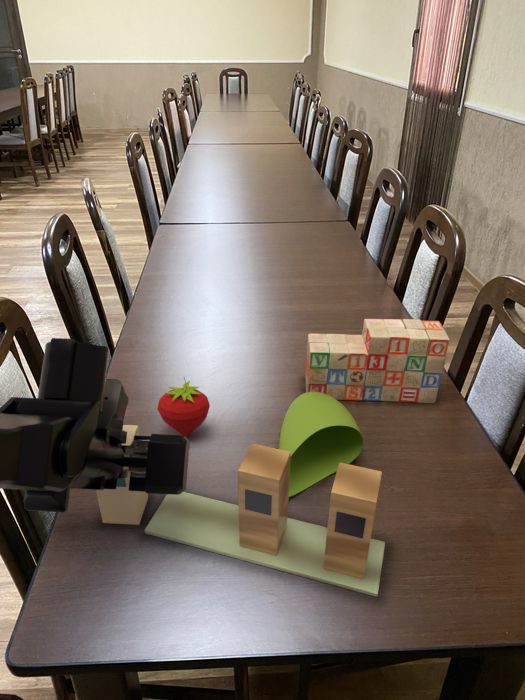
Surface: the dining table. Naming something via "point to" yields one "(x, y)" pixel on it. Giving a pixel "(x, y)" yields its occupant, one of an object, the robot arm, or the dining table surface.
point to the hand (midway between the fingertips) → (123, 463)
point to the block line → (284, 523)
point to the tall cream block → (123, 495)
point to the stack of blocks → (379, 361)
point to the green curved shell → (317, 439)
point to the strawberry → (184, 408)
